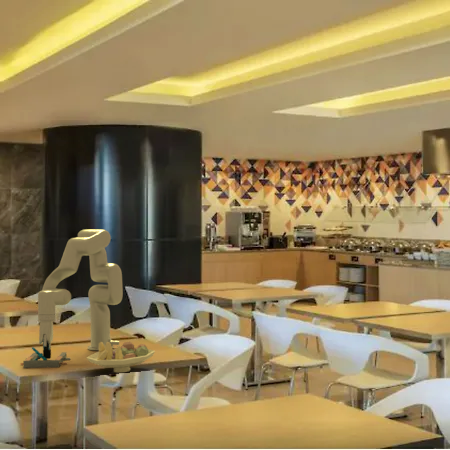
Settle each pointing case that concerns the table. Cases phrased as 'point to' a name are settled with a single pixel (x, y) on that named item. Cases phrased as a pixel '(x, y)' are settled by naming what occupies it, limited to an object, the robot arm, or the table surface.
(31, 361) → the rail
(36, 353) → the gear
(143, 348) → the dish with food
